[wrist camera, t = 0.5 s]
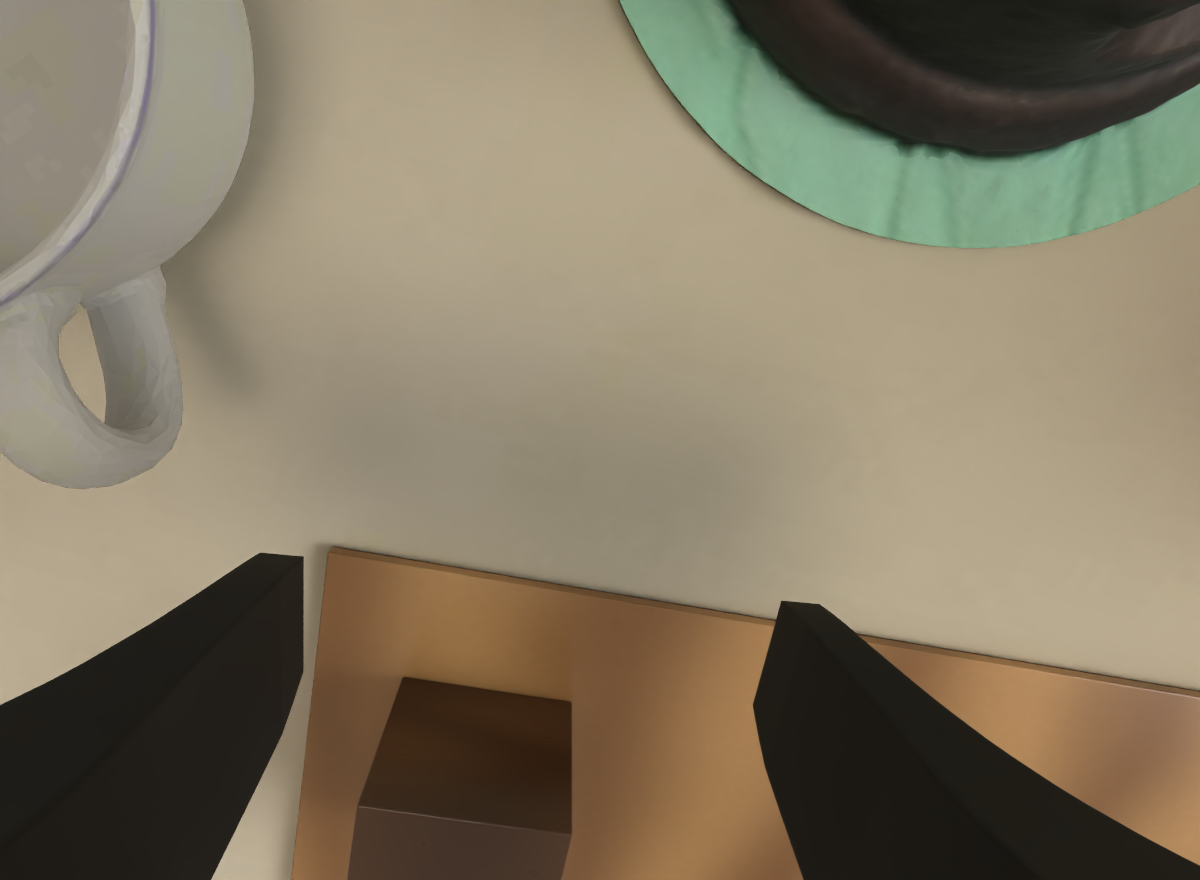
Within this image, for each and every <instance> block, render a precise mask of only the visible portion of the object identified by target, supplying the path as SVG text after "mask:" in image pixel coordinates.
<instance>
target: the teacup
mask: <svg viewBox="0 0 1200 880" xmlns="http://www.w3.org/2000/svg"><path fill="white" fill-rule="evenodd" d="M253 103H254V62H253V50H252V43H251V37H250V32H249V27H248V22H247V16H246V12H245V8H244V4H243V0H0V452H1V453H2V454H3V455H4V456H5V457H6V458H8V459H9V460H10V461H11V462H12V463H13V464H14V465H16V466H17V467H18V468H20V469H21V470H23V471H25V472H27V473H29V474H30V475H32V476H34V477H36V478H38V479H39V480H41V481H43V482H47V483H51V484H54V485H58V486H62V487H66V488H76V489H89V488H98V487H107V486H112V485H115V484H118V483H122V482H125V481H127V480H129V479H131V478H133V477H135V476H137V475H139V474H141V473H143V472H145V471H147V470H149V469H151V468H153V467H154V466H155V465H156V464H157V463H158V462H159V461H160V460H161V459H162V458H163V457H164V456H165V455H166V454H167V453H168V452H169V451H170V450H171V449H172V447H173V445H174V442H175V440H176V437H177V435H178V432H179V430H180V427H181V424H182V411H183V396H182V380H181V375H180V370H179V365H178V360H177V356H176V351H175V347H174V343H173V339H172V335H171V331H170V328H169V324H168V320H167V316H166V312H165V308H164V306H165V300H166V293H167V287H166V282H165V280H164V277H163V275H162V272H161V270H160V268H161V264H163V263H164V262H166V261H167V260H168V259H170V258H171V257H173V256H174V255H175V254H176V253H177V252H178V251H179V250H180V249H182V248H183V247H184V246H185V245H186V244H187V243H188V242H189V241H191V240H192V239H193V238H194V237H195V236H196V235H197V234H198V233H199V231H200V230H201V229H202V228H203V227H204V226H205V224H206V223H207V222H208V221H209V219H210V218H211V217H212V216H213V214H214V213H215V212H216V211H217V209H218V208H219V206H220V205H221V203H222V201H223V200H224V198H225V196H226V194H227V193H228V191H229V189H230V187H231V185H232V183H233V181H234V178H235V176H236V174H237V172H238V169H239V166H240V163H241V160H242V157H243V154H244V151H245V148H246V145H247V142H248V136H249V130H250V124H251V118H252V111H253ZM79 304H81V305H82V306H83V307H84V308H85V309H86V310H87V313H88V317H89V321H90V324H91V328H92V332H93V336H94V339H95V343H96V347H97V351H98V355H99V359H100V363H101V367H102V370H103V375H104V381H105V391H106V413H105V423H104V422H102V421H101V420H100V419H98V418H97V417H96V416H95V415H94V414H93V413H92V412H91V411H90V410H89V409H87V408H86V407H85V405H84V404H83V402H82V401H81V400H80V398H79V397H78V395H77V394H76V392H75V391H74V389H73V388H72V386H71V384H70V382H69V379H68V377H67V375H66V373H65V370H64V368H63V366H62V364H61V361H60V359H59V351H58V345H59V335H60V332H61V329H62V327H63V326H64V325H65V324H66V323H67V322H68V321H69V320H70V319H71V318H72V317H73V316H74V315H75V314H76V313H77V312H78V308H79Z"/></svg>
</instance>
